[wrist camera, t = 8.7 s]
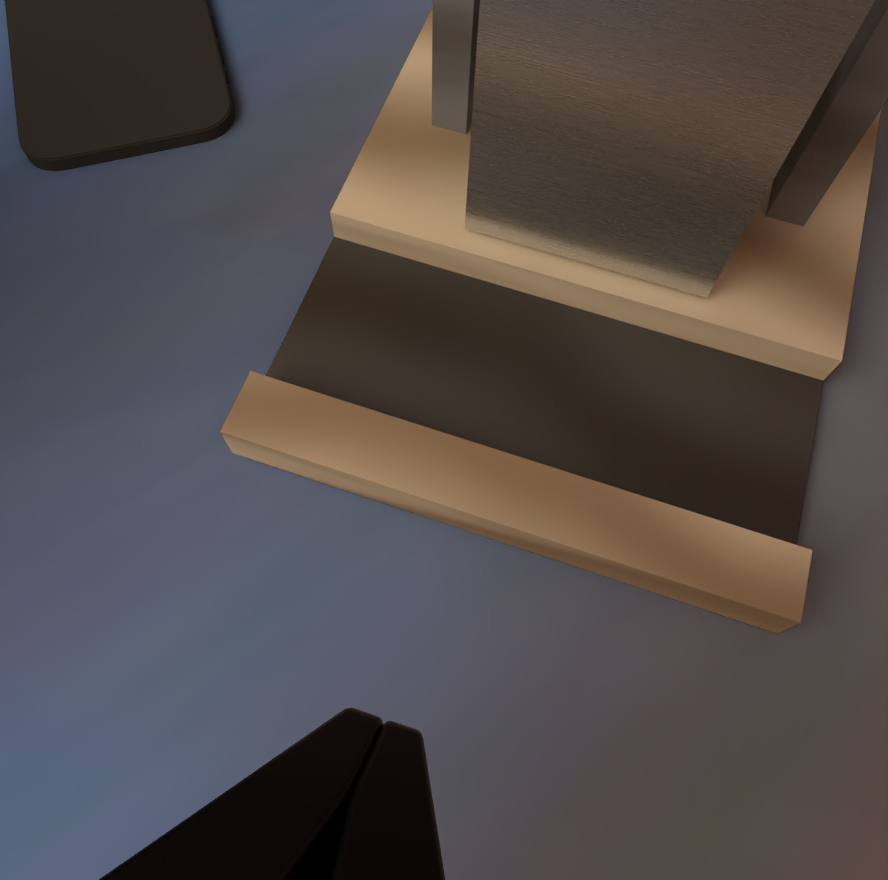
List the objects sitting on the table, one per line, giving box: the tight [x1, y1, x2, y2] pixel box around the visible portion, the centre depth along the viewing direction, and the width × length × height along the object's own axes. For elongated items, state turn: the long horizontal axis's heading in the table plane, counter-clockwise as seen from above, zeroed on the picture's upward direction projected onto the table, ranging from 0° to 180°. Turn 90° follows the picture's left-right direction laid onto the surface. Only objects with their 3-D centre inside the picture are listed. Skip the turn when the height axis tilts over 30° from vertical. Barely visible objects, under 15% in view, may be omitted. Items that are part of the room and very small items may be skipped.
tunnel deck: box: [220, 0, 888, 634], centre depth 22 cm, size 28×16×13 cm, turn 161°
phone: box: [5, 0, 234, 171], centre depth 31 cm, size 7×1×15 cm
